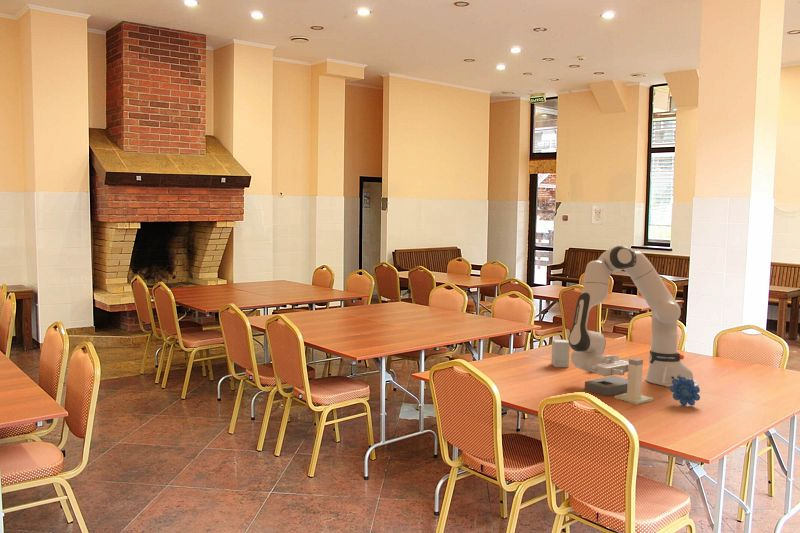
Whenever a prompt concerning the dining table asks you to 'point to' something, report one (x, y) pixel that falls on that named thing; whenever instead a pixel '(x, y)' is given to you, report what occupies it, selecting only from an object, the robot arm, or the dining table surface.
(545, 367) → the dining table surface
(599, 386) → the block
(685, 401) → the grapes
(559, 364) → the supplement box
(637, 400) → the sage pad
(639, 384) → the cream plug
